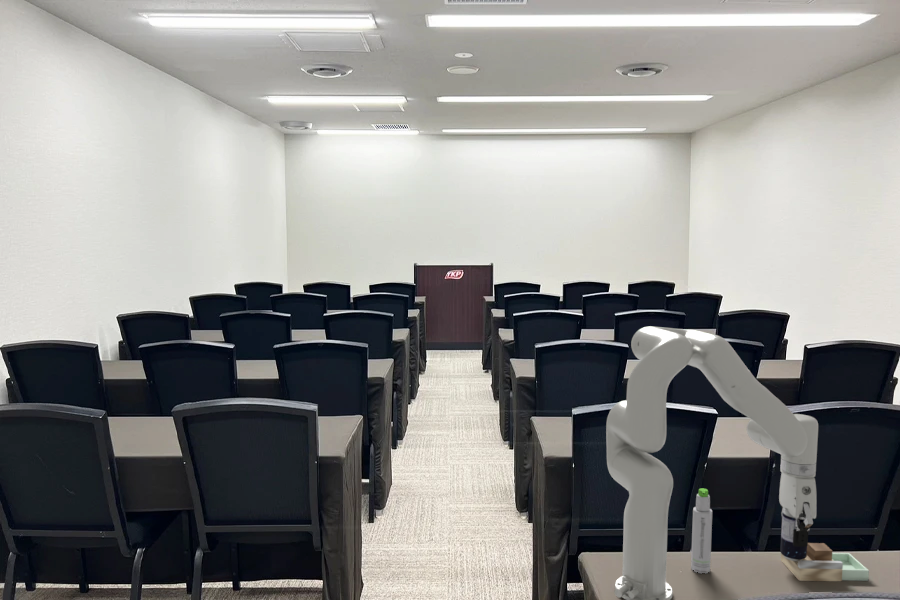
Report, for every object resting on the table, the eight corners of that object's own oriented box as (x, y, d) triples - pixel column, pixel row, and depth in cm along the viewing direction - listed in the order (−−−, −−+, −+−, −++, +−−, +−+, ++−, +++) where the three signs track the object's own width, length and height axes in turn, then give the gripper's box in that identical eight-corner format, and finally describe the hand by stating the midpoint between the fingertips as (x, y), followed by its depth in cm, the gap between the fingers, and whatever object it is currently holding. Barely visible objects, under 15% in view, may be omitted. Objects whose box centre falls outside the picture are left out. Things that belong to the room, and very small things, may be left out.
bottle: (688, 570, 171) (691, 490, 169) (694, 563, 174) (697, 485, 172) (706, 575, 168) (709, 494, 166) (712, 568, 172) (715, 489, 170)
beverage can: (809, 564, 167) (812, 515, 166) (783, 561, 168) (786, 513, 167) (802, 553, 172) (805, 505, 171) (777, 550, 174) (780, 503, 172)
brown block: (814, 562, 168) (815, 550, 168) (806, 554, 172) (807, 543, 172) (831, 562, 168) (832, 550, 168) (823, 555, 172) (824, 543, 172)
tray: (840, 580, 166) (841, 569, 166) (822, 562, 175) (822, 552, 174) (868, 580, 166) (868, 570, 165) (848, 562, 174) (849, 552, 174)
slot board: (799, 580, 166) (800, 562, 165) (780, 560, 176) (781, 543, 175) (841, 581, 165) (842, 562, 165) (821, 561, 175) (822, 543, 175)
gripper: (832, 480, 159) (827, 557, 161) (797, 455, 176) (793, 525, 178) (798, 479, 159) (794, 556, 161) (767, 455, 177) (763, 524, 178)
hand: (793, 539), depth 170 cm, fingers closed on beverage can, 5 cm apart
